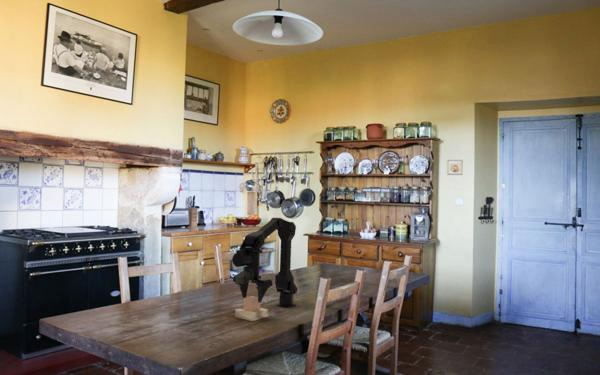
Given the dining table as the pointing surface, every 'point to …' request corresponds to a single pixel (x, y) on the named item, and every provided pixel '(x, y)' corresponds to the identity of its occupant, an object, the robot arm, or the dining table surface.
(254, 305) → the cube
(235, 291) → the dining table surface
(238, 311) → the base
